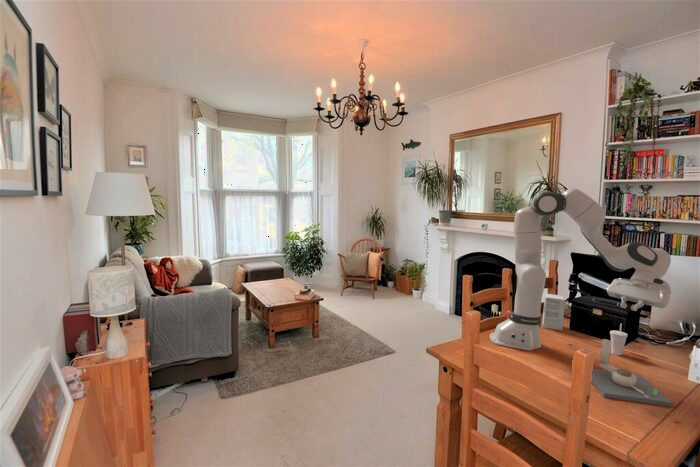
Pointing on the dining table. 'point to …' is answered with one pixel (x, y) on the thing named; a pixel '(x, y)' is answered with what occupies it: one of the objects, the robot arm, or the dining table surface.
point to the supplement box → (553, 312)
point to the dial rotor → (618, 375)
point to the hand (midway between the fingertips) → (627, 308)
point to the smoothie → (617, 341)
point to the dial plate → (628, 389)
